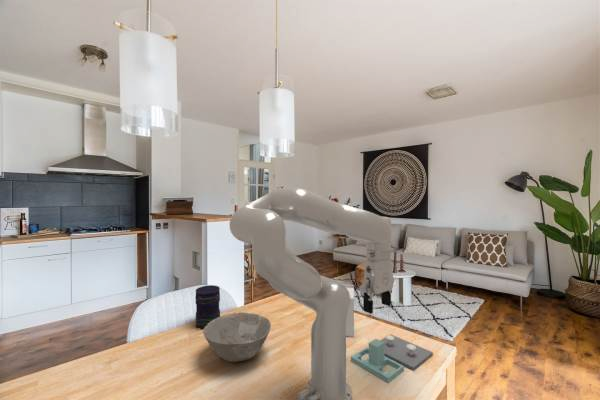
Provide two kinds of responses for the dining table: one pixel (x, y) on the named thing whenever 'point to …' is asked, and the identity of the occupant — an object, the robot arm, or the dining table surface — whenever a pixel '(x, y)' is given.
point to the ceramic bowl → (237, 335)
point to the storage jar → (207, 305)
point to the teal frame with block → (377, 361)
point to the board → (405, 352)
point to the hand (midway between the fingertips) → (377, 308)
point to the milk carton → (350, 312)
